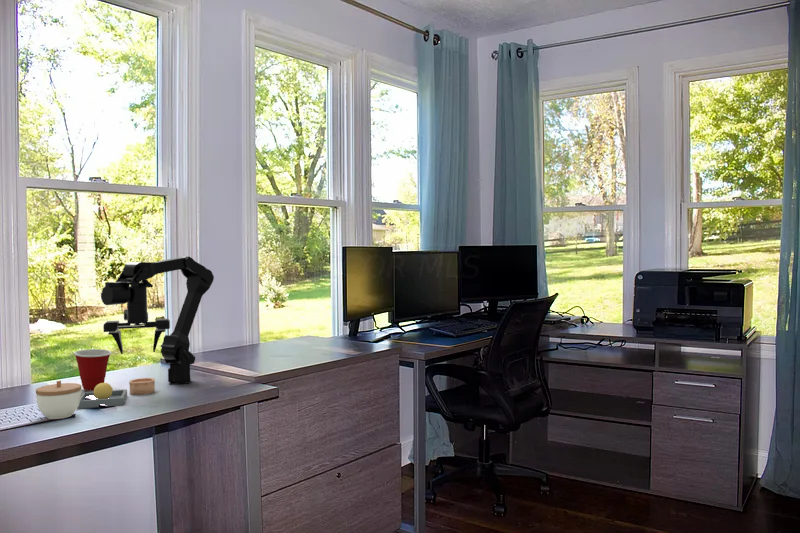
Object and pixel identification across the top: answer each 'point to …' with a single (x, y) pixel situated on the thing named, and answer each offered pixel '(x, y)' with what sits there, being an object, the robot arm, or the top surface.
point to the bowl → (142, 386)
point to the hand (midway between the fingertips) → (138, 353)
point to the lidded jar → (58, 399)
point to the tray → (114, 400)
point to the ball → (103, 391)
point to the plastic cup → (92, 366)
